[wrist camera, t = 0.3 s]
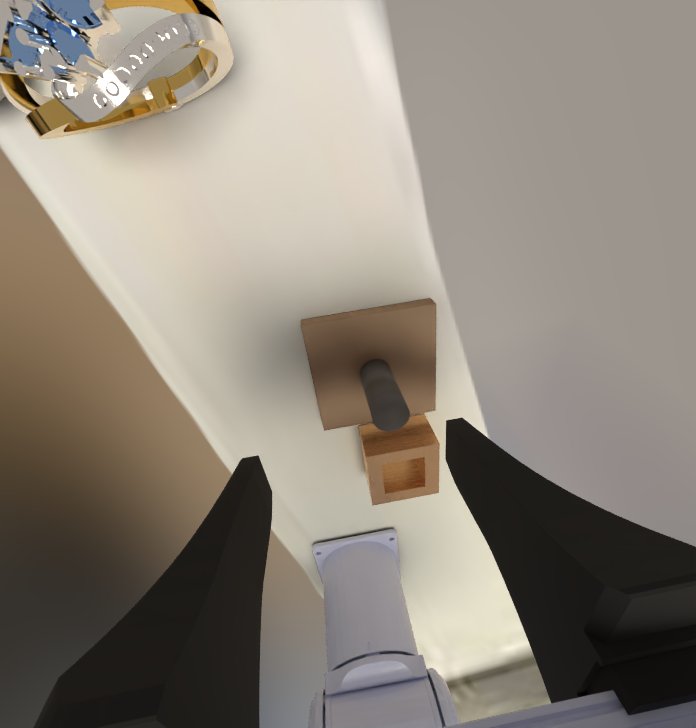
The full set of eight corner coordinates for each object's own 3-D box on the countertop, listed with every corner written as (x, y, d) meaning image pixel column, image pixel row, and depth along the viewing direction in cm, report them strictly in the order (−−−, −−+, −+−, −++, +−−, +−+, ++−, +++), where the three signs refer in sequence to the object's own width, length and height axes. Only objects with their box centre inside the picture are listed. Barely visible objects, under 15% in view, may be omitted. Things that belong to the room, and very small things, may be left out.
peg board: (430, 402, 24) (461, 457, 19) (323, 421, 24) (328, 482, 19) (430, 298, 20) (469, 335, 15) (301, 319, 20) (300, 365, 15)
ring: (119, 166, 15) (-35, 158, 8) (69, 79, 14) (-173, -21, 7) (261, 115, 15) (225, 62, 8) (227, 19, 13) (146, -151, 6)
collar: (424, 460, 27) (438, 492, 24) (365, 471, 27) (372, 505, 24) (424, 413, 25) (439, 443, 22) (358, 425, 25) (365, 457, 22)
